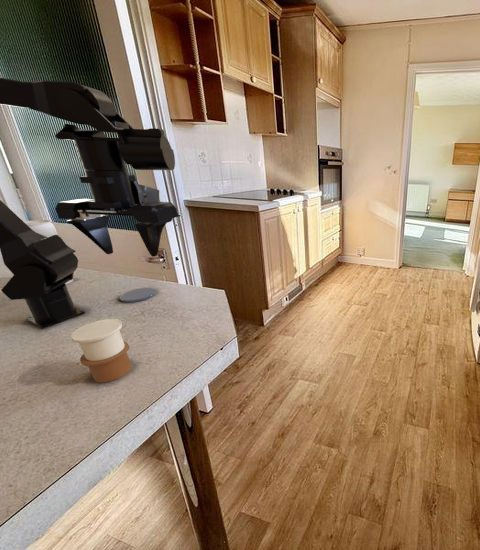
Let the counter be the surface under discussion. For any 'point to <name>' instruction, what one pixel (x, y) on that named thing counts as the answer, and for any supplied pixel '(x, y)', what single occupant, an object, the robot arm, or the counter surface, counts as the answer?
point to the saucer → (137, 295)
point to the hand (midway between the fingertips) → (132, 254)
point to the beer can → (44, 230)
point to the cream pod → (99, 339)
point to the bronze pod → (109, 366)
